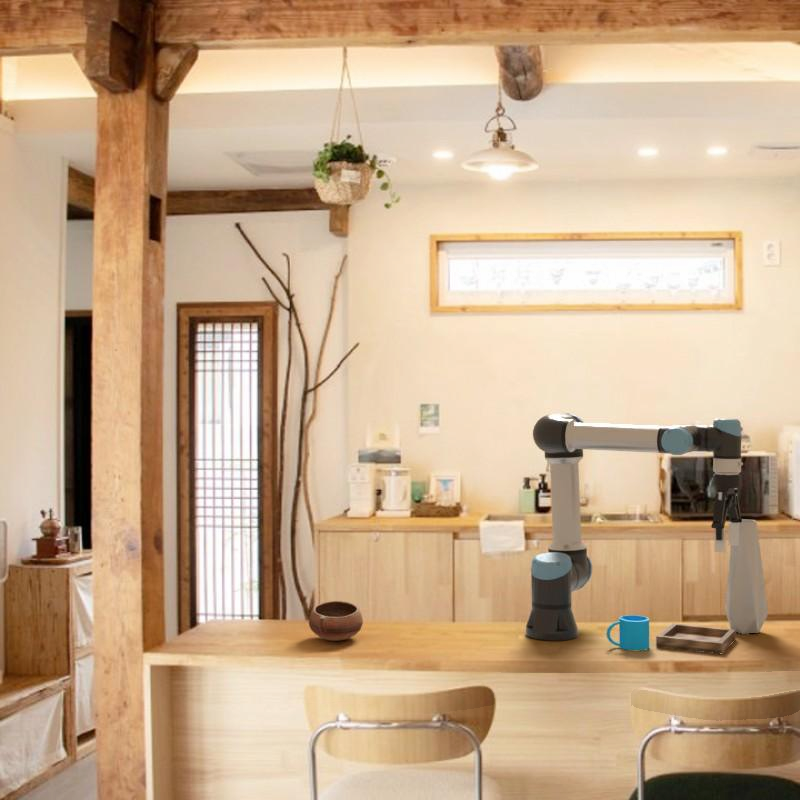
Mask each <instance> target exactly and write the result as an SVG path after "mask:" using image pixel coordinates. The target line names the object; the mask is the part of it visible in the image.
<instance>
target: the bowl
mask: <svg viewBox="0 0 800 800" xmlns="http://www.w3.org/2000/svg"><path fill="white" fill-rule="evenodd" d="M309 614H310V615H309V618H308V625H309V628H310V630H311V631H312V633H314V634H315V636H318V637H320V638H321V639H324V640H327V641H331V642H333V641H334V642H337V641H344V640H348V639H350V638H352V637H354V636H356V635H357V634H358V633H359V632H360V631H361V629H362V627H363V624H364V621H363V620H364V619H363V616H362V615H363V614H362V612H361V610H360V608H359V607H358V606H357V605H355V604H354V603H351V602H348V601H343V600H331V601H325V602H321V603H318V604H316V605H315V606H314V607H313V608H312V610H311V612H310V613H309Z"/></svg>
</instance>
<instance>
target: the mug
mask: <svg viewBox="0 0 800 800" xmlns="http://www.w3.org/2000/svg"><path fill="white" fill-rule="evenodd" d="M618 619H619V620H618V621H615V622H612V623H611V624H610V625H609V626H608V627H607V629H606V638H607V640H608V641H609V642H610V643H611V644H612V645H614V646H617V647H619V646H620V647H621V648H623V649H622V650H624V649H627V650H626V651H629V650H644V651H646V650H645V649H648V648H649V649H650V618H649V617H647V616H644V615H637V614H635V615H633V614H631V615H630V614H627V615H622V616H620V617H618ZM618 625H619V630H618V631H619V632H618V633H619V636H618V638H619V641H618V642H616V641H615V640H613V639H612V637H611V631H612V630H613V628H614V627H615V626H618ZM620 647H619V648H620ZM621 648H620V649H621ZM649 649H648V650H649Z"/></svg>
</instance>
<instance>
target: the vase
mask: <svg viewBox="0 0 800 800" xmlns="http://www.w3.org/2000/svg"><path fill="white" fill-rule="evenodd" d="M741 519H742V523H740V522H738V523H739V546H734V545H729V546H730V548H729V560H728V571H727V583H726V595H725V596H726V597H725V605H724V606H725V608H724V609H725V614H726V618H727V621H728V624H729V629H734V630H736V632H738V633H737V634H740V633H743V634H742V635H750V634H749V633H758V634H759V633H760V631H761V629H762V627H763V625H764V623H766V622H765V621H766V620H767V617H768V615H769V612H768V611H769V610H768V602H767V593H766V586H765V576H764V569H763V562H762V553H761V552H762V551H761V544H760V537H759V529H758V523H757V521H756V520H755V519H745V518H744V519H743V518H741Z"/></svg>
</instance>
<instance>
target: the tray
mask: <svg viewBox="0 0 800 800" xmlns="http://www.w3.org/2000/svg"><path fill="white" fill-rule="evenodd" d="M736 635H737V633H736V630H734V629H731V628H723V627H715V626H714V627H713V626H712V627H711V626H703V625H702V626H701V625H693V624H683V623H674V622H673V623H671V624H669V626H667V627H666V628H665V629H663V630H662V631H661V632H659V633H658V634H657V635H656V636H655V639H656V640H655V641H656V643H655V644H656V645H655V646H658V647H657V648H661V647H667V648H666V649H670V648H673V649H672V650H678V649H680V650H679V651H687V650H692V651H691V652H696V651H702V652H701V653H705V652H713V653H723V652H724V651H725V650H726V649H727V648H728V647H729V645H730V644H731V643H732V642H733V641H734V640H735V639H736V640H737V638H736V637H737V636H736ZM736 640H735V641H736ZM735 641H734V642H735ZM734 642H733V643H734ZM733 643H732V644H733ZM729 648H730V647H729ZM729 648H728V649H729ZM728 649H727V650H728ZM727 650H726V651H727ZM703 651H704V652H703ZM726 651H725V652H726ZM725 652H724V653H725ZM713 653H712V654H713ZM724 653H723V654H724Z"/></svg>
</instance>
